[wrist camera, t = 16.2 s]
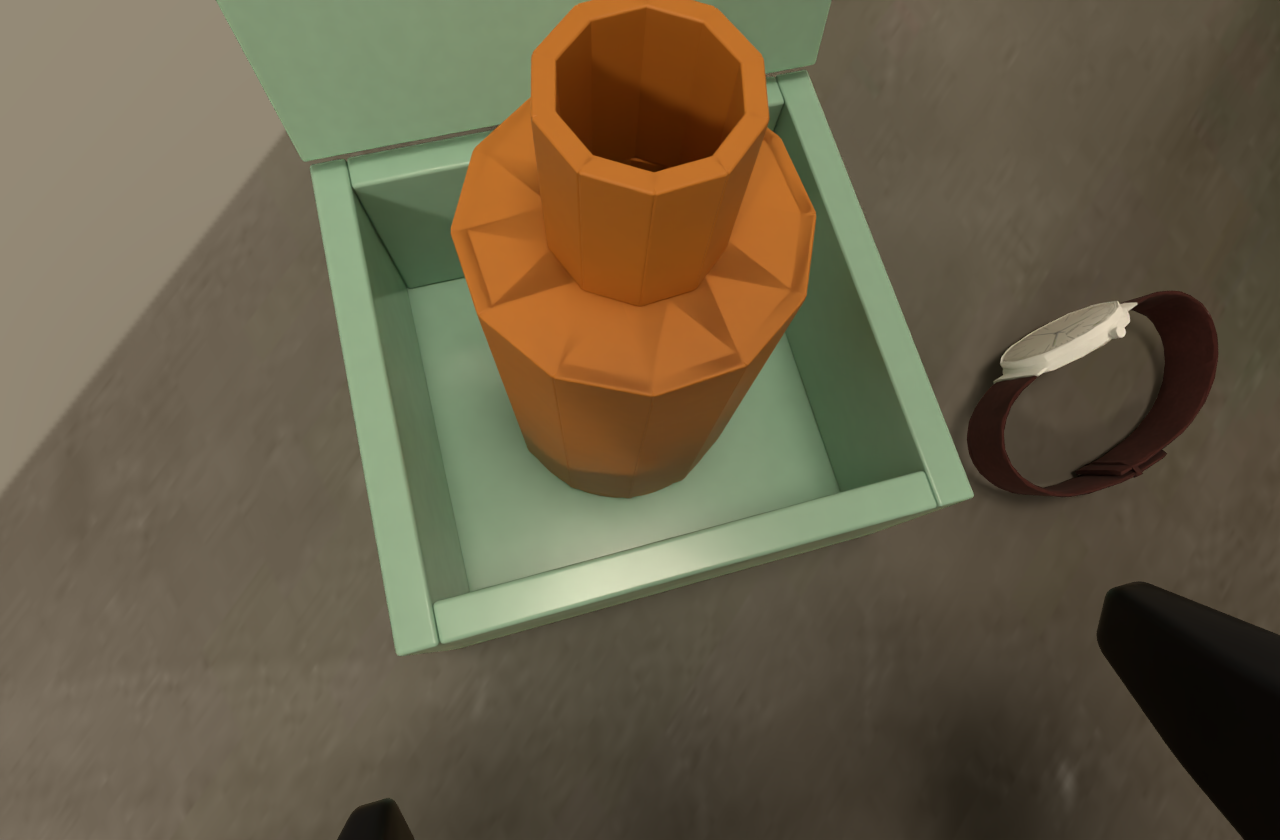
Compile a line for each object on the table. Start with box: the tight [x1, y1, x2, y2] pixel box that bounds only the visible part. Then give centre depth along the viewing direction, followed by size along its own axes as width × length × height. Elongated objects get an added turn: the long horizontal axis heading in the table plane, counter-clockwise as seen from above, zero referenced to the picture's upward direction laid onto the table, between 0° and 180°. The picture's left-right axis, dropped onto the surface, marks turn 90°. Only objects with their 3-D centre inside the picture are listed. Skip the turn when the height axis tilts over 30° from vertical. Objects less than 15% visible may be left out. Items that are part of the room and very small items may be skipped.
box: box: [310, 70, 974, 656], centre depth 18 cm, size 11×12×6 cm
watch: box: [967, 291, 1218, 497], centre depth 20 cm, size 8×5×4 cm, turn 125°
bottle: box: [450, 0, 817, 498], centre depth 14 cm, size 6×6×12 cm
